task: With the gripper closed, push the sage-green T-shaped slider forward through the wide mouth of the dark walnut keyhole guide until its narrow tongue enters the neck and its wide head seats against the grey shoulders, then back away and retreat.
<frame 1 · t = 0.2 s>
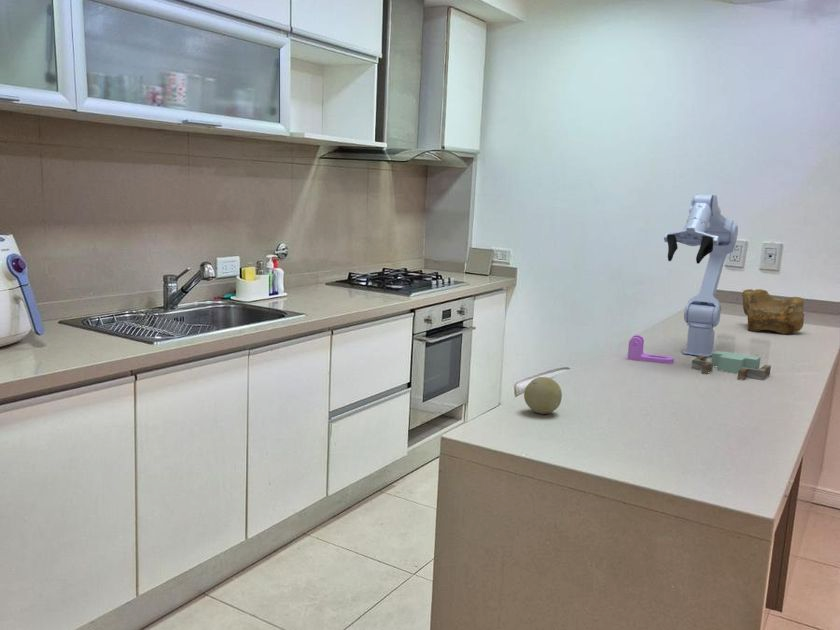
hand: (683, 259, 196), 31 cm above the countertop, tool tilted 45°, fingers open, 7 cm apart
rough brown rock: (764, 331, 270), on the countertop
bracket: (650, 361, 213), on the countertop
t slider: (734, 368, 206), on the countertop
keyhole guide: (726, 373, 199), on the countertop
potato: (542, 413, 157), on the countertop
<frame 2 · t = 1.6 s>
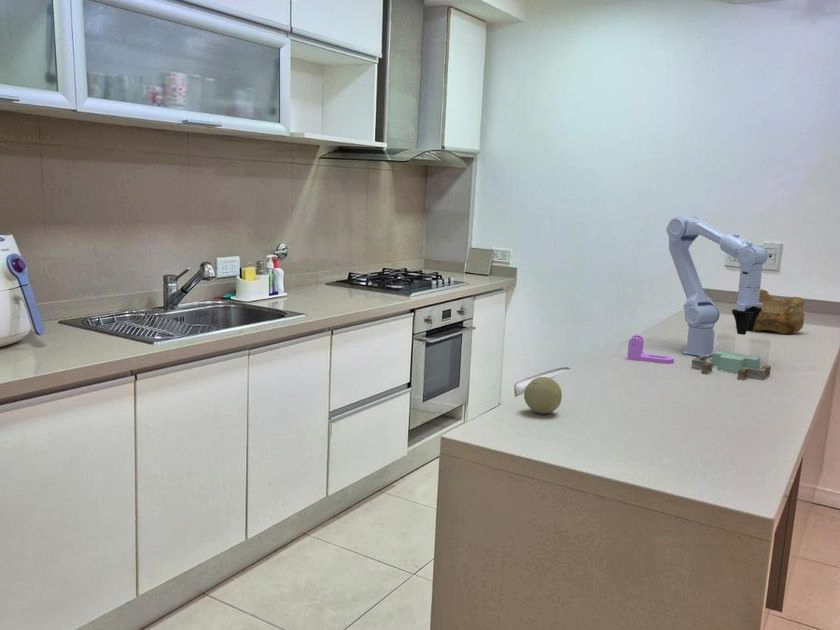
hand: (744, 332, 209), 10 cm above the countertop, tool pointing down, fingers open, 7 cm apart
nothing on the countertop moved.
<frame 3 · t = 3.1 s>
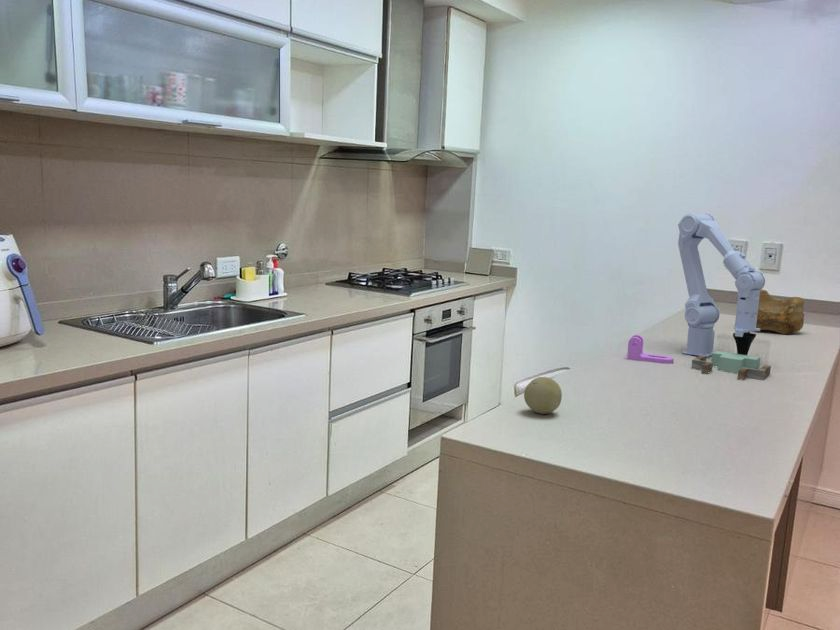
hand: (742, 357, 211), 2 cm above the countertop, tool pointing down, fingers closed
nothing on the countertop moved.
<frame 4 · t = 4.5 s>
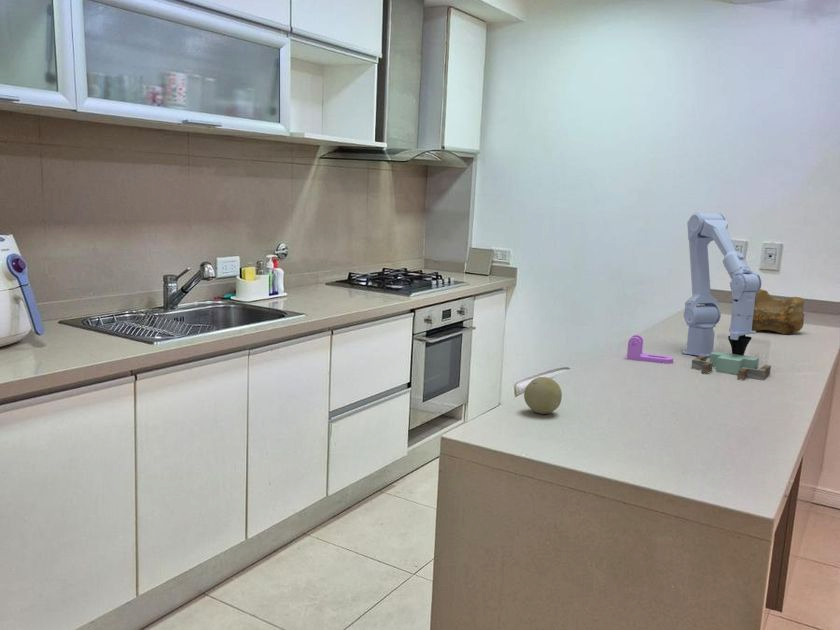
hand: (737, 360, 207), 2 cm above the countertop, tool pointing down, fingers closed
t slider: (733, 369, 204), on the countertop, touching gripper
everything else where it was.
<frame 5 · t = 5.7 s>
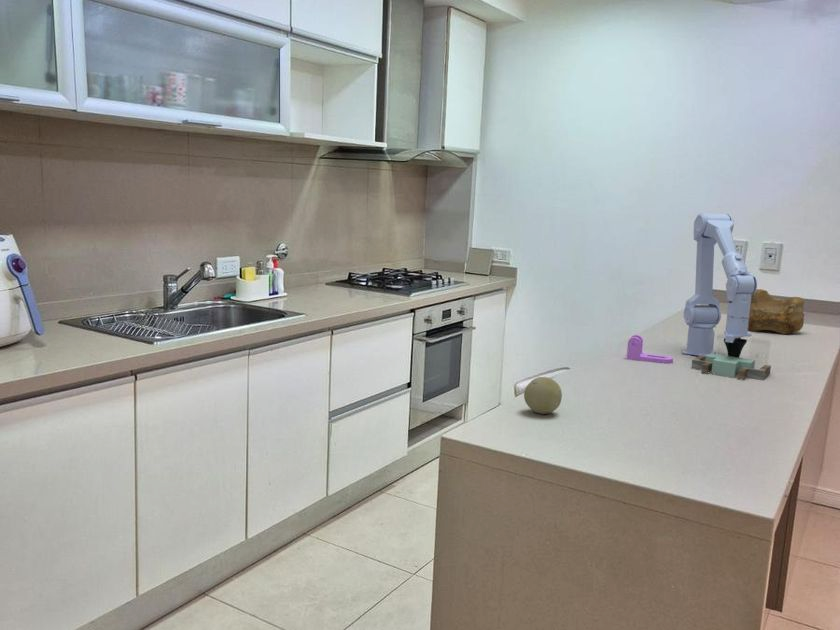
hand: (732, 363, 203), 2 cm above the countertop, tool pointing down, fingers closed
t slider: (728, 371, 201), on the countertop, touching gripper, keyhole guide
everything else where it was.
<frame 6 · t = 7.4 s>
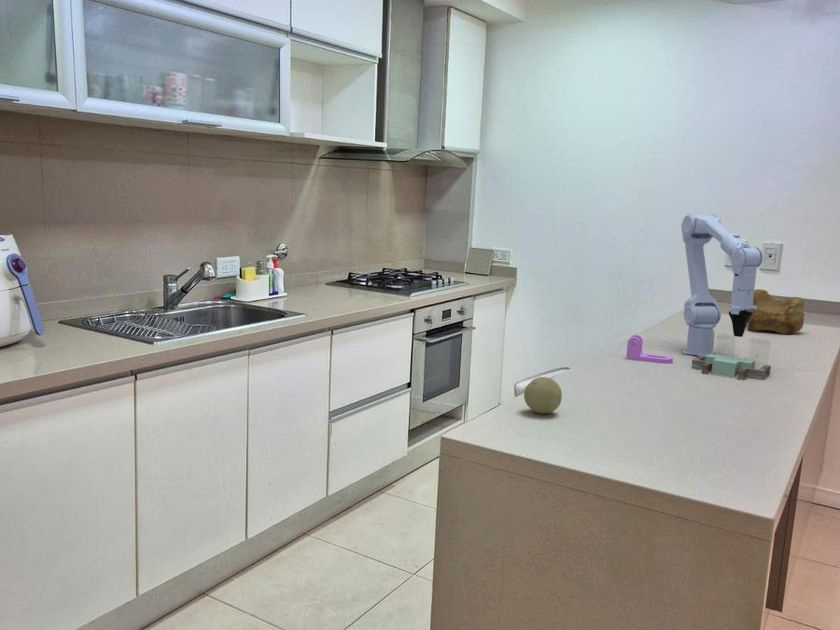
hand: (738, 336, 204), 9 cm above the countertop, tool pointing down, fingers closed
t slider: (728, 372, 201), on the countertop
everything else where it was.
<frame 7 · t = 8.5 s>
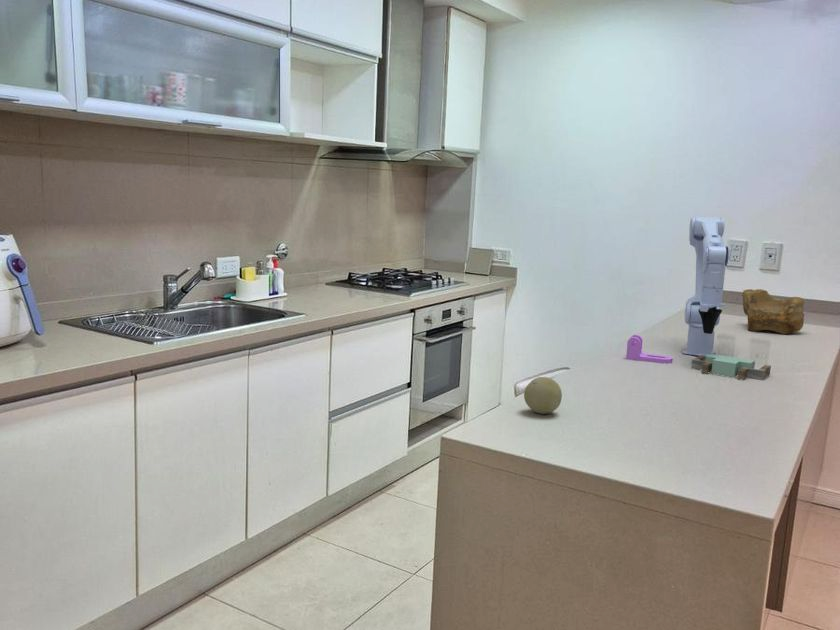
hand: (707, 333, 208), 9 cm above the countertop, tool pointing down, fingers closed
nothing on the countertop moved.
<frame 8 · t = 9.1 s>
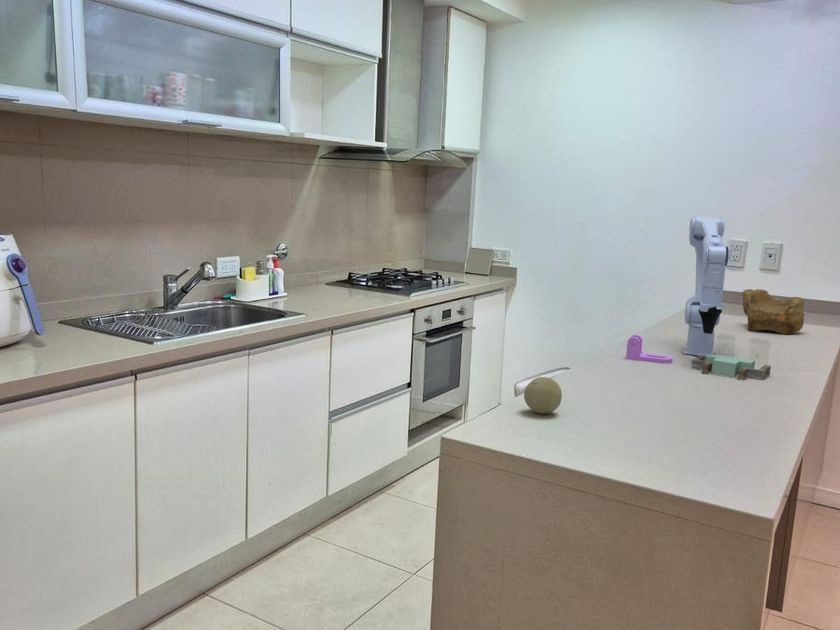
hand: (707, 333, 208), 9 cm above the countertop, tool pointing down, fingers closed
nothing on the countertop moved.
at the end: t slider 0.5 cm from the target spot on the keyhole guide, point 0.0 cm above the keyhole guide's base; t slider tilted 1°; t slider moved 6.0 cm from its start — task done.
